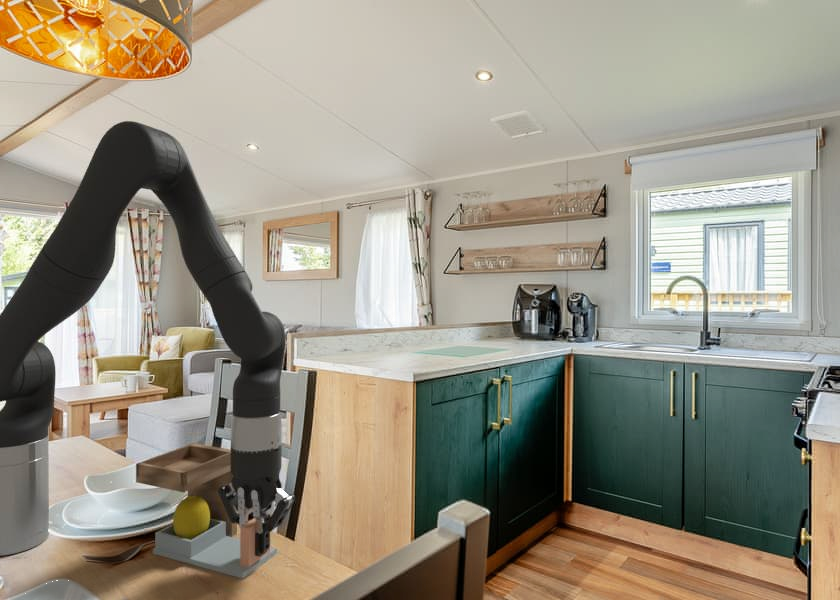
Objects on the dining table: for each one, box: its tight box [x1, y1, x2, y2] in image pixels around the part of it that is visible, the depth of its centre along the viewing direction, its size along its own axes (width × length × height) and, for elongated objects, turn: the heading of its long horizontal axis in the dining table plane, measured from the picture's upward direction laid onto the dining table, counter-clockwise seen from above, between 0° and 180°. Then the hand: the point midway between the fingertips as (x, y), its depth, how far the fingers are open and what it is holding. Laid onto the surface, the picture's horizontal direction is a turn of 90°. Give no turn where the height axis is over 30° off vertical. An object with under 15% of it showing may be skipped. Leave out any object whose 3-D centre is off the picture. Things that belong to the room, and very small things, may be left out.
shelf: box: [135, 443, 238, 537], centre depth 87 cm, size 10×12×14 cm
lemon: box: [172, 494, 210, 540], centre depth 85 cm, size 6×6×8 cm
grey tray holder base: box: [152, 518, 278, 580], centre depth 84 cm, size 18×8×7 cm, turn 68°
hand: (255, 552), depth 81 cm, fingers closed on grey tray holder base
